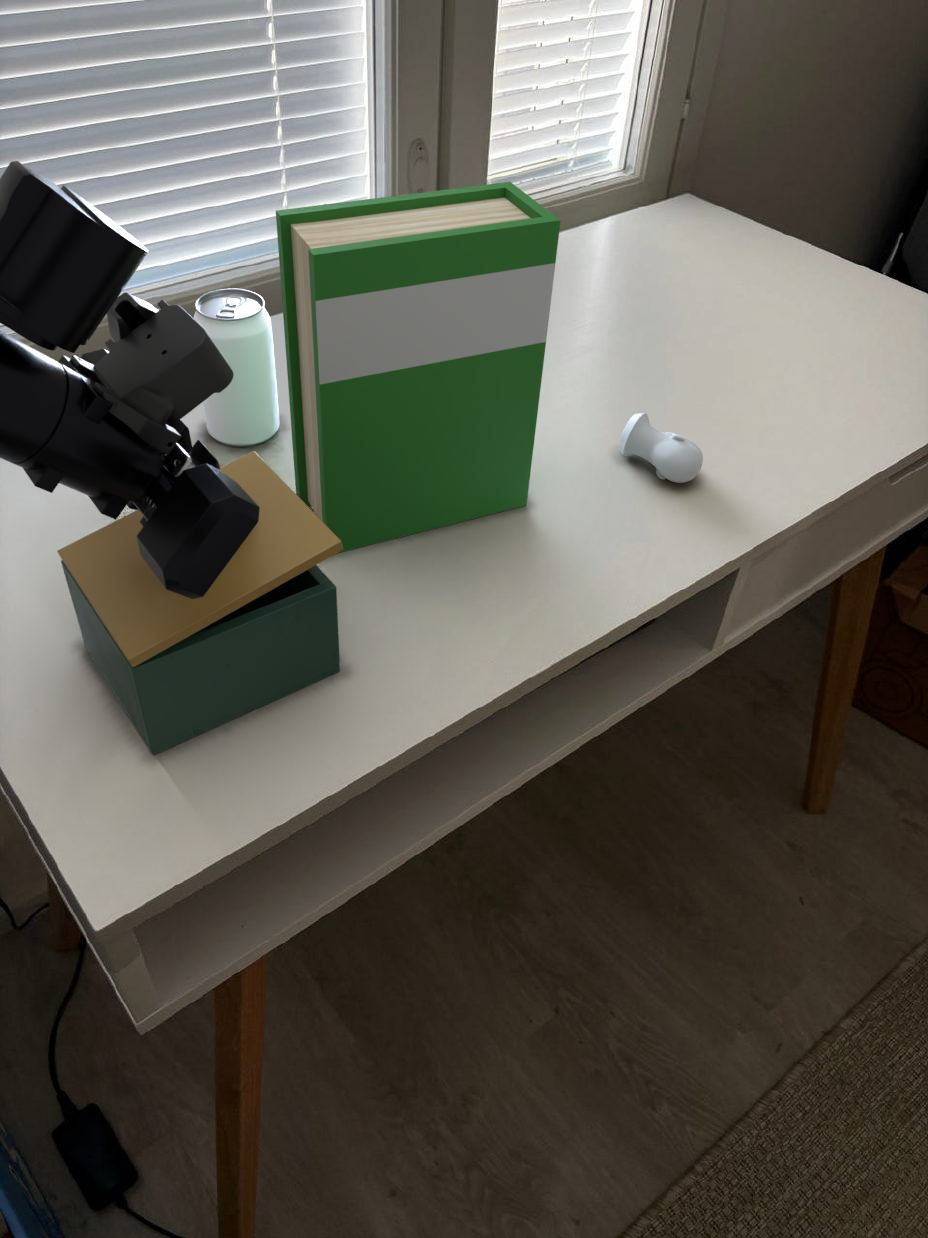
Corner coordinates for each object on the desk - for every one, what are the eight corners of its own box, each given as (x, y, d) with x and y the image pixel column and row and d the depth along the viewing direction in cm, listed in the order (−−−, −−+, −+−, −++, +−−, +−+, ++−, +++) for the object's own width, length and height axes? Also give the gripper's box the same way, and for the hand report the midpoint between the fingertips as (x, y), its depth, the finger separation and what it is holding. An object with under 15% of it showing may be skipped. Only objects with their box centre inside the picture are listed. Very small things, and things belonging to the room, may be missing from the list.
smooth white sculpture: (703, 491, 90) (670, 496, 86) (639, 448, 94) (605, 450, 91) (725, 448, 88) (691, 451, 84) (658, 405, 92) (623, 406, 88)
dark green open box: (261, 578, 76) (252, 494, 71) (340, 671, 70) (336, 586, 64) (84, 646, 70) (60, 560, 65) (152, 756, 63) (131, 669, 58)
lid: (257, 459, 69) (254, 450, 69) (344, 549, 63) (341, 540, 62) (61, 559, 65) (56, 550, 64) (132, 668, 58) (127, 660, 57)
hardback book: (327, 555, 79) (313, 254, 62) (296, 502, 83) (275, 210, 67) (526, 505, 85) (560, 219, 69) (486, 458, 90) (510, 181, 73)
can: (287, 413, 93) (278, 289, 85) (270, 452, 88) (258, 325, 80) (218, 406, 93) (202, 282, 85) (197, 444, 89) (178, 317, 81)
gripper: (201, 361, 45) (404, 488, 58) (54, 215, 56) (253, 349, 68) (64, 557, 47) (290, 638, 59) (-53, 379, 57) (160, 480, 70)
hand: (247, 514), depth 64 cm, fingers closed, pressing on lid
